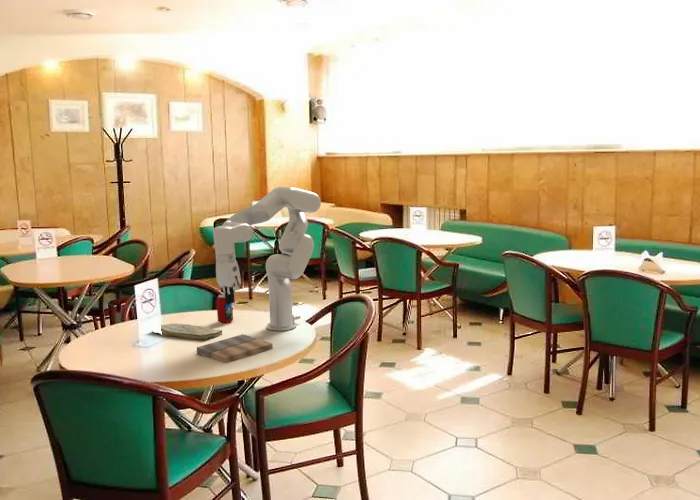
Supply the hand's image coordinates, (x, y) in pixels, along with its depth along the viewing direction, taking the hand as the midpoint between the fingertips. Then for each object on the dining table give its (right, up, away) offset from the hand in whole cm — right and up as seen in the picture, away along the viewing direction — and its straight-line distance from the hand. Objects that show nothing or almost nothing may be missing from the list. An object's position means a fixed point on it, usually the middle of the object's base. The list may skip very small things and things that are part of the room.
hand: (230, 302), depth 255 cm
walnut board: (+7, -18, -11) cm, 22 cm away
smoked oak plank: (0, -17, -5) cm, 18 cm away
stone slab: (-21, -15, +15) cm, 30 cm away
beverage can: (-8, -11, +33) cm, 36 cm away
